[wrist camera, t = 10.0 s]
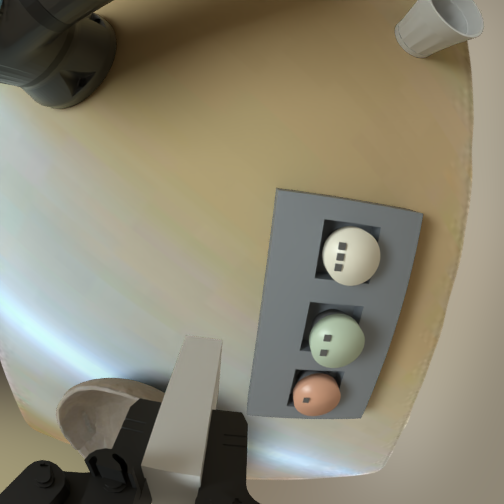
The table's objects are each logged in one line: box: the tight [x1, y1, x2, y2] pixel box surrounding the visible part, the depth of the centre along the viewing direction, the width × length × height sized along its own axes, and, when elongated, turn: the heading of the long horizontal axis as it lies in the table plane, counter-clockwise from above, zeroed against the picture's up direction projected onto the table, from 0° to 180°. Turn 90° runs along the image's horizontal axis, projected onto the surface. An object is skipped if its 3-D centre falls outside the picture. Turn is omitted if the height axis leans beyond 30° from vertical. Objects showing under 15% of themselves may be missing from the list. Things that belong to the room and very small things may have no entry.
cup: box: [395, 0, 484, 58], centre depth 25 cm, size 8×8×12 cm
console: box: [247, 188, 423, 419], centre depth 40 cm, size 18×32×4 cm, turn 173°
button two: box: [309, 309, 365, 368], centre depth 36 cm, size 6×6×5 cm
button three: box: [322, 226, 380, 286], centre depth 35 cm, size 6×6×5 cm
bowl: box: [56, 378, 165, 458], centre depth 43 cm, size 26×26×10 cm
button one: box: [293, 370, 341, 416], centre depth 40 cm, size 6×6×5 cm
